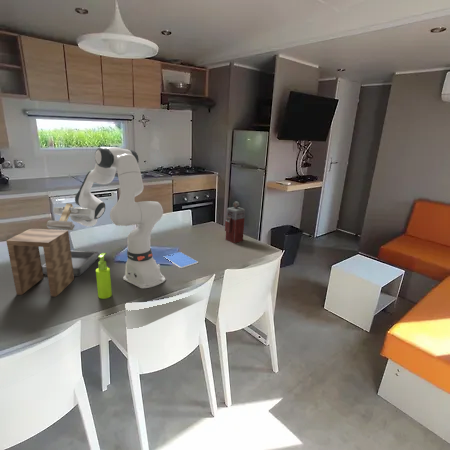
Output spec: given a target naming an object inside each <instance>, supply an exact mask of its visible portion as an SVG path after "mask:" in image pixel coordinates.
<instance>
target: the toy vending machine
mask: <svg viewBox="0 0 450 450" xmlns="http://www.w3.org/2000/svg"><path fill="white" fill-rule="evenodd" d="M245 216H246V209H245V208H243V207H240V202H239V201H234V202H233V203H232V206H231V207H230V206H229V207H227V208H226V216H225V220H224V221H225V222H224V223H225V225H224V232H225V241H228V242H230V243H232V244H238V243H241V242H243V241H244V233H245V232H244V230H245V228H244V227H245Z"/></svg>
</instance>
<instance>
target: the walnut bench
mask: <svg viewBox="0 0 450 450" xmlns="http://www.w3.org/2000/svg"><path fill="white" fill-rule="evenodd" d="M5 241H6V245H7V246H6V247H7V251H8V256H9V262H10V266H11V272H12V277H13V282H14V286H15V287H14V288H15V293H16V295H17V296H18V295H20V296H23V295H24V294H25V293H27V291H29V290H30V289H31V288H32V287H34V286H35V285H37V284H38V283H39V282H40V281H41V280H43V279H44V274H43V271H42V265H43V264H42V259H41V252H40V248H43V253H44V261H45V263H46V268H47V274H46V275H47V280H48V286H49V287H48V288H49V294H50V297H58V296H59V295H60V294H61V293H62V292H63V291H64V290H65V289H66V288H67V287H68V286H69V285H70V284H71V283H72V282H73V281H75V276H74V273H73V265H72V257H71V250H72V249H71V243H70V234H69V230H56V229H49V228H48V229H47V228H46V229H45V228H29V229H27V230H24V231H22V232H21V233H19V234H16V235H14V236H12V237H10V238H8V239H6V240H5Z"/></svg>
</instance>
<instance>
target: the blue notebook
mask: <svg viewBox="0 0 450 450" xmlns="http://www.w3.org/2000/svg"><path fill="white" fill-rule="evenodd" d="M173 254H174V255H173ZM168 255H171V256H168ZM168 255H164V256H163V257H165V258H166V259H168V260H169V261H168V260H167V261H168V262H170V261H171V262H172V264H173V265H174V266H176V267H178V268H179V269H184V268H187V267H188V268H189V267H191V266H194V265H197V264H198V263H199V261H197V260H195V259H194V258H192V257H190V256H189V255H187V254H185V253H183V252H181V251H178V252H175V253H170V254H168ZM172 255H173V256H172ZM165 258H164V259H165ZM166 259H165V260H166ZM171 262H170V263H171Z"/></svg>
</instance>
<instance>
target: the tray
mask: <svg viewBox="0 0 450 450" xmlns="http://www.w3.org/2000/svg"><path fill="white" fill-rule="evenodd" d="M71 257H72V265H73V273H74V277H80V276H81V275H83V274H84V273H85V272H86V271H87V270H88V269H89V268H90V267H91V266H92V265H93V264H94V263H96V261H97V260H99V258H98V257H99V251H89V250H88V251H87V250H72V249H71ZM41 265H42V271H43V275H47V268H46V262H45V263H43V264H41Z"/></svg>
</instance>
